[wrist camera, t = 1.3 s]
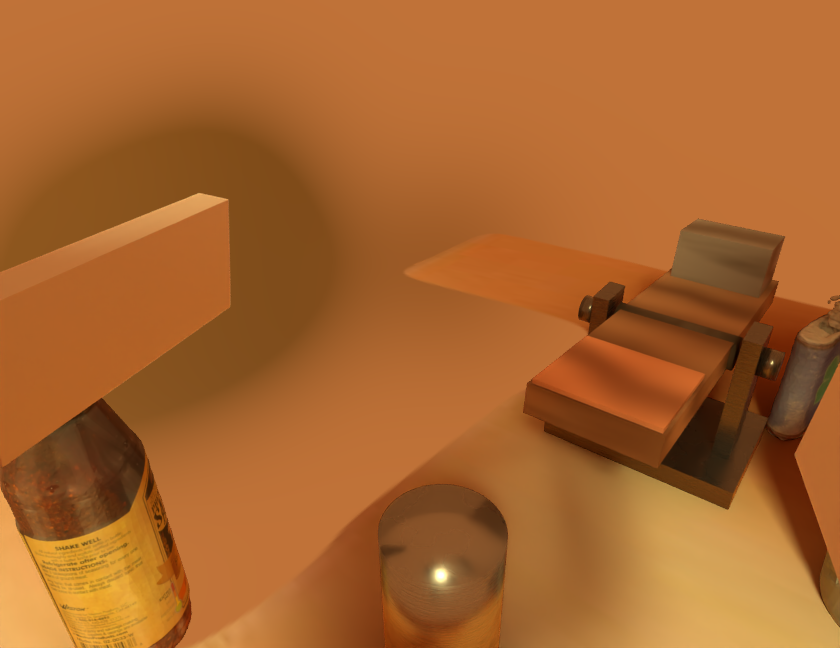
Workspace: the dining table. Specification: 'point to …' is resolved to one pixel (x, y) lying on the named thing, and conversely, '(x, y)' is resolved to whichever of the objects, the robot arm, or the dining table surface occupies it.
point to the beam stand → (699, 418)
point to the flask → (806, 375)
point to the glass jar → (442, 569)
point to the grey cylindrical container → (830, 588)
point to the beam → (662, 345)
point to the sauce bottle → (100, 534)
